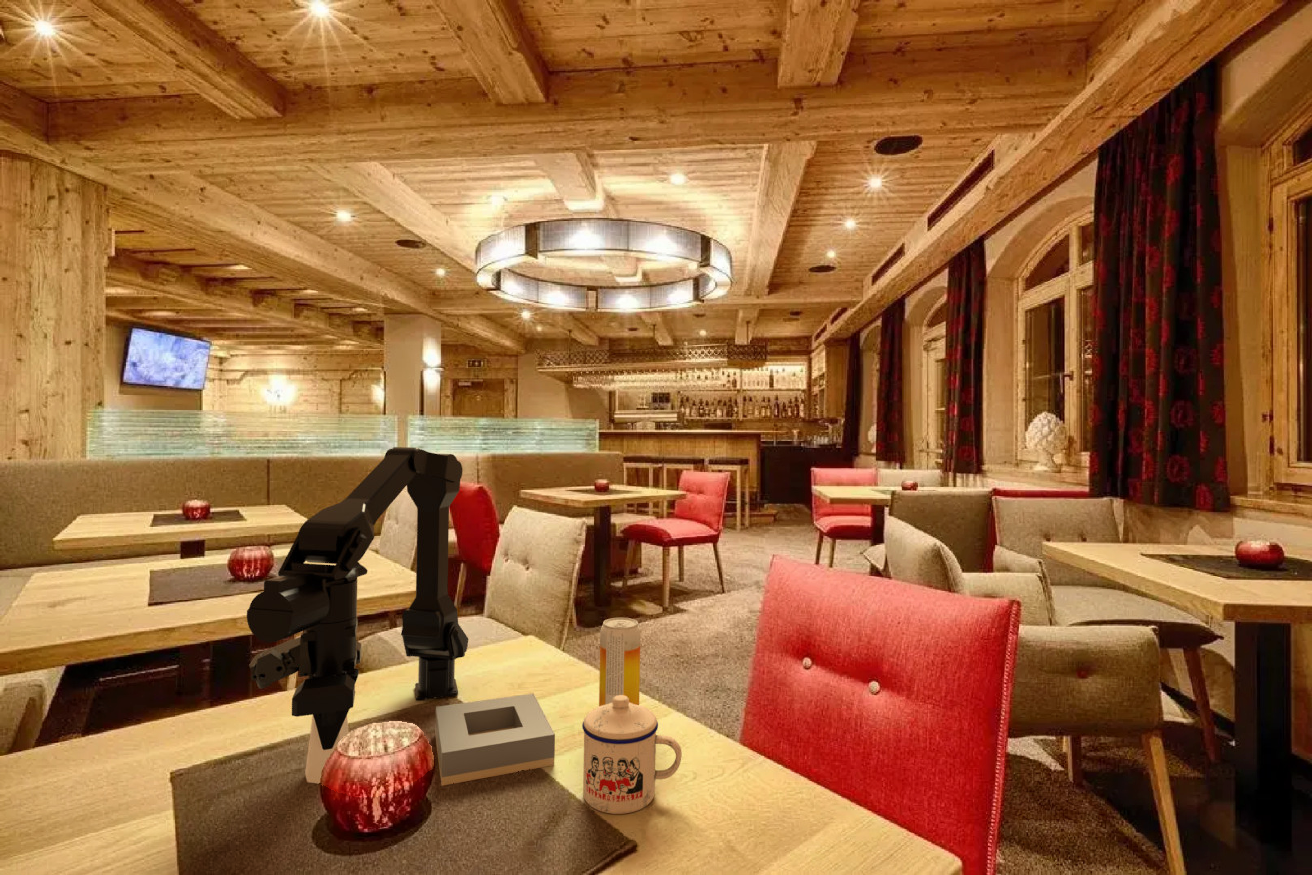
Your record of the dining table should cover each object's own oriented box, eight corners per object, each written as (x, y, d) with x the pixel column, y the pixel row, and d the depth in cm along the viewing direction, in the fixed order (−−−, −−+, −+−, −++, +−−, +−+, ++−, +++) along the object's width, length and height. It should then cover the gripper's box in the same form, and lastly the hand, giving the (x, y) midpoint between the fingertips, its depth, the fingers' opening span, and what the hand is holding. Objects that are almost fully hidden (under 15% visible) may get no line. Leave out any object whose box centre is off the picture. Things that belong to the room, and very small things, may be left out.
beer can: (641, 713, 97) (642, 617, 98) (636, 732, 91) (638, 629, 91) (602, 711, 98) (604, 615, 98) (595, 729, 92) (597, 627, 92)
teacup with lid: (572, 813, 71) (574, 711, 71) (590, 771, 80) (592, 680, 81) (677, 822, 70) (679, 718, 70) (683, 778, 79) (685, 686, 79)
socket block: (435, 734, 89) (435, 706, 89) (533, 719, 95) (533, 693, 95) (441, 785, 77) (442, 752, 77) (554, 764, 82) (554, 734, 82)
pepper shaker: (319, 789, 75) (321, 697, 75) (295, 776, 78) (296, 687, 78) (361, 769, 80) (363, 683, 80) (337, 757, 83) (338, 674, 83)
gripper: (271, 604, 85) (269, 719, 85) (239, 647, 67) (236, 793, 67) (362, 597, 89) (360, 707, 89) (354, 636, 72) (351, 773, 72)
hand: (329, 741), depth 79 cm, fingers closed on pepper shaker, 4 cm apart
